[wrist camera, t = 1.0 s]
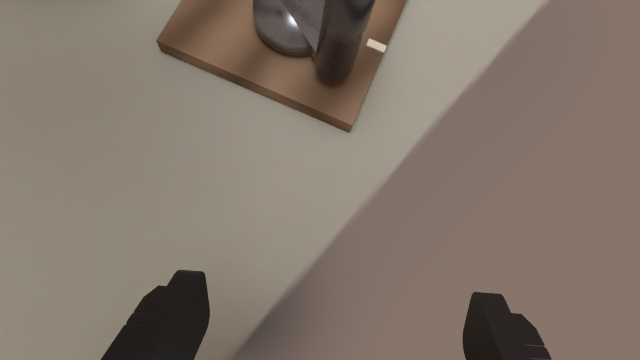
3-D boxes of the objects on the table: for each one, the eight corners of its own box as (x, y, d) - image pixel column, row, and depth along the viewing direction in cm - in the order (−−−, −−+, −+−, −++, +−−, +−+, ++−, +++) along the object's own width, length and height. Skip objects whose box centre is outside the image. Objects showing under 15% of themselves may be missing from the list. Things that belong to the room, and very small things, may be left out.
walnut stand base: (161, 51, 34) (155, 39, 32) (245, -84, 38) (243, -101, 37) (349, 132, 34) (352, 124, 32) (411, -13, 38) (417, -26, 36)
